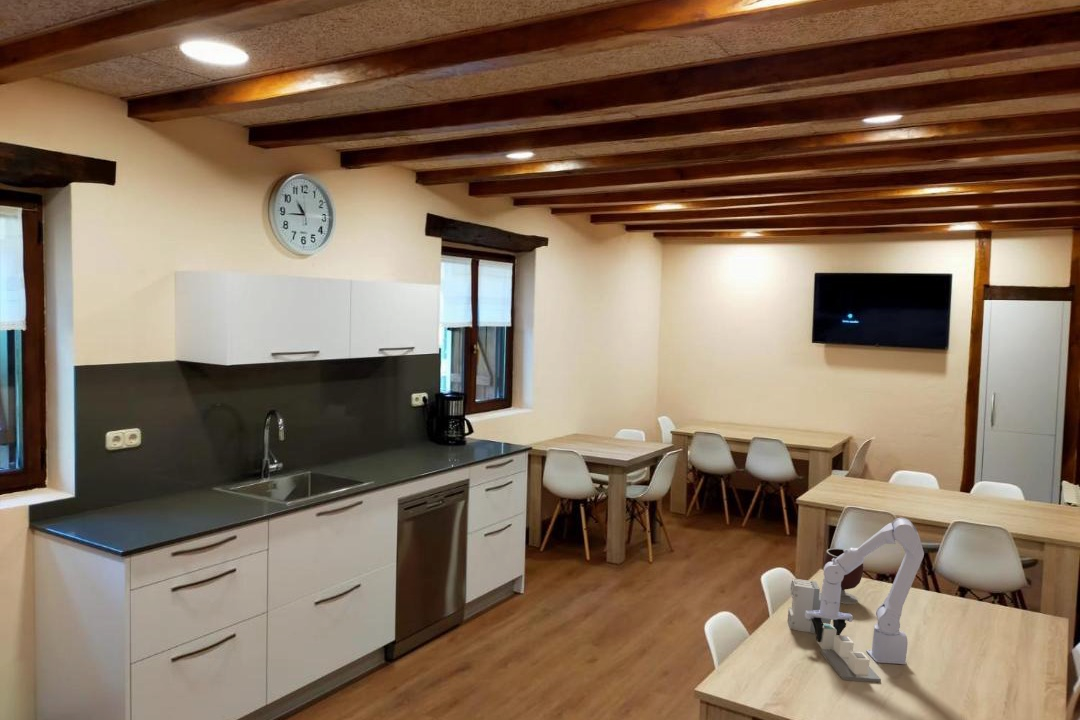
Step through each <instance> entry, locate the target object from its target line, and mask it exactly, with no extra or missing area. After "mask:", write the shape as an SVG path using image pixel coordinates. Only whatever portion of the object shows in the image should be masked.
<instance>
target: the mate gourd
mask: <svg viewBox="0 0 1080 720" xmlns="http://www.w3.org/2000/svg"><path fill="white" fill-rule="evenodd" d="M843 553H844V549H843V548H828V549H826V553H825V555H824V558H823V566H822V567H823V568H824V566H825V564H826V563H828V562H830V561H831V562H832V559H833V558H835V559H836V558H837V557H838V556H840V555H841V554H843ZM823 568H822V569H823ZM863 573H864V562H863V563H862V564H861V565H860V566H858V567H857V568H855V569H854V570H853V571H851V572H850V573H848V574H846V575H844V578H843V580H842V582H841V597H840V604H841V603H843V604H842V605H855V604H857V603H858V598H857V597H856V596H855V595H853V594H851V593H849V592H846V590H852V589H855V588H856V587H857V586H858V585H860V583H861V581H862V578H863ZM856 602H857V603H856ZM854 603H855V604H854Z"/></svg>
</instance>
